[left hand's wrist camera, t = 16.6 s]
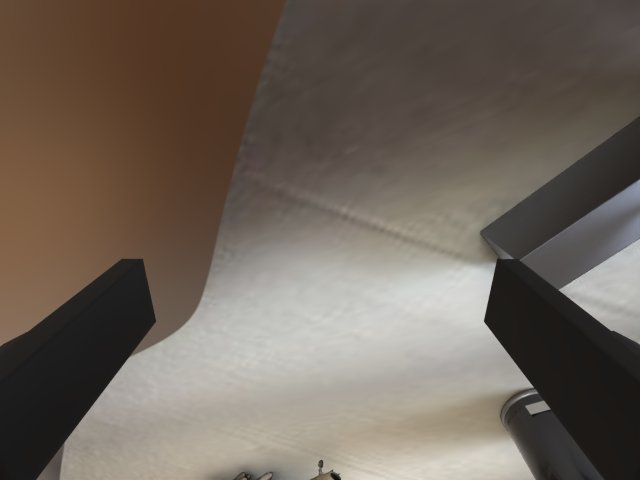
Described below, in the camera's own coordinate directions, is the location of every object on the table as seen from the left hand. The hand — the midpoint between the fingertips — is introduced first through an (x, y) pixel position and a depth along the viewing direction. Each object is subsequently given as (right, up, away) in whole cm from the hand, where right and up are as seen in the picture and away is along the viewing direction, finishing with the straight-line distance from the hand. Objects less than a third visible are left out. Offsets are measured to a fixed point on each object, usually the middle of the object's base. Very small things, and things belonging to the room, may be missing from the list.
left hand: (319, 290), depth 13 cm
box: (+32, +9, +26) cm, 42 cm away
